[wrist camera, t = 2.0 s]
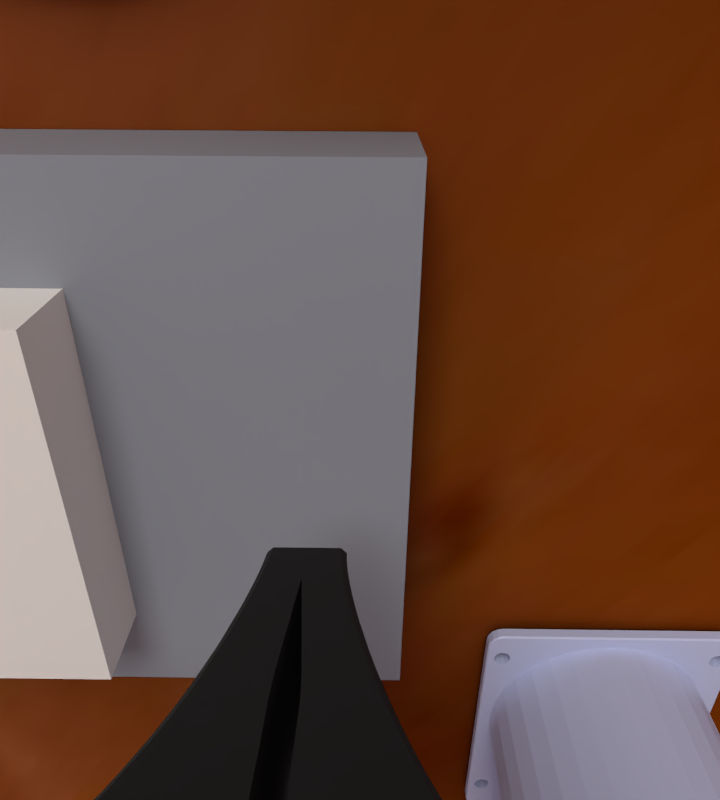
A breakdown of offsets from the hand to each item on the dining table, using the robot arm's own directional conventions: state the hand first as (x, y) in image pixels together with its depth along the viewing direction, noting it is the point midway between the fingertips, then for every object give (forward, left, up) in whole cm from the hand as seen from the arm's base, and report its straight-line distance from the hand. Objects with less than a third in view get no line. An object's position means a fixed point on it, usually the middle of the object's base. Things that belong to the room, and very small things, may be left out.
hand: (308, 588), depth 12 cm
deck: (0, +5, -7) cm, 8 cm away
